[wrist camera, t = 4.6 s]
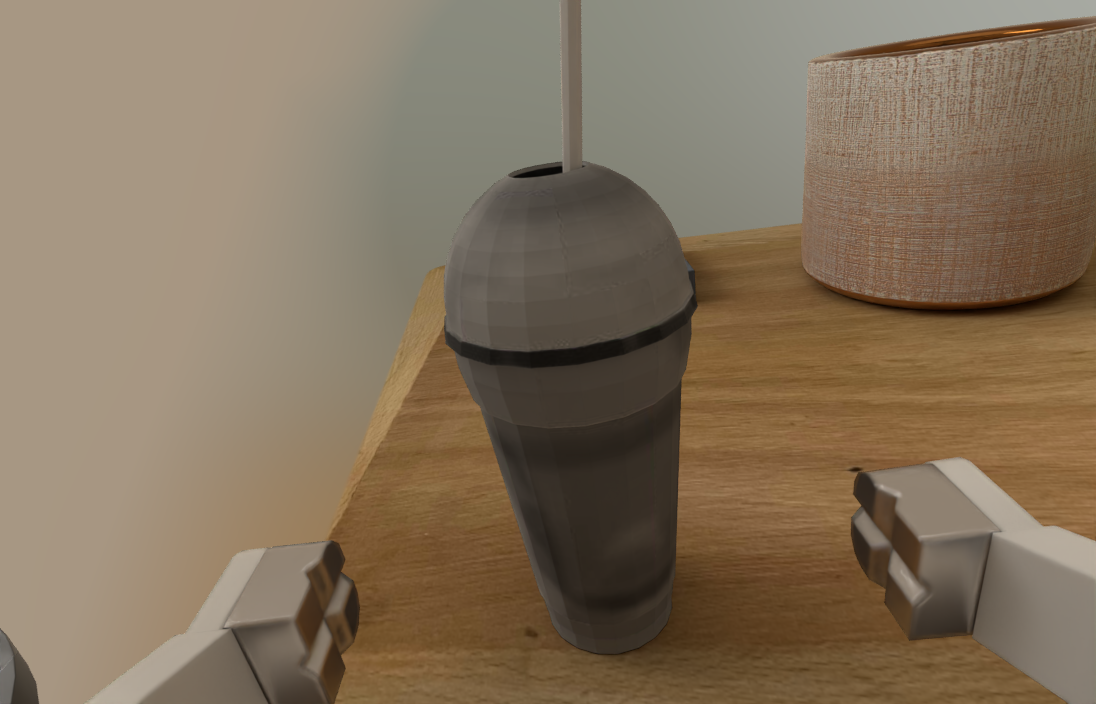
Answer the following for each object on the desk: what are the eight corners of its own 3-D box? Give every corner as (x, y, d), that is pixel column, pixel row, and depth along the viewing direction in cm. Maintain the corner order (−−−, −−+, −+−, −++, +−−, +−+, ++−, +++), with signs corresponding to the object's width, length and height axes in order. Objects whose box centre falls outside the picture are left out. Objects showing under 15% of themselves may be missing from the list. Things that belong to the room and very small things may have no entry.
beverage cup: (542, 525, 27) (444, 4, 19) (716, 539, 25) (692, -47, 16) (481, 673, 21) (291, -13, 12) (707, 710, 18) (659, -98, 10)
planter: (871, 335, 38) (893, 57, 32) (767, 257, 54) (767, 62, 48) (1163, 292, 38) (1244, 0, 31) (970, 226, 54) (997, 25, 47)
